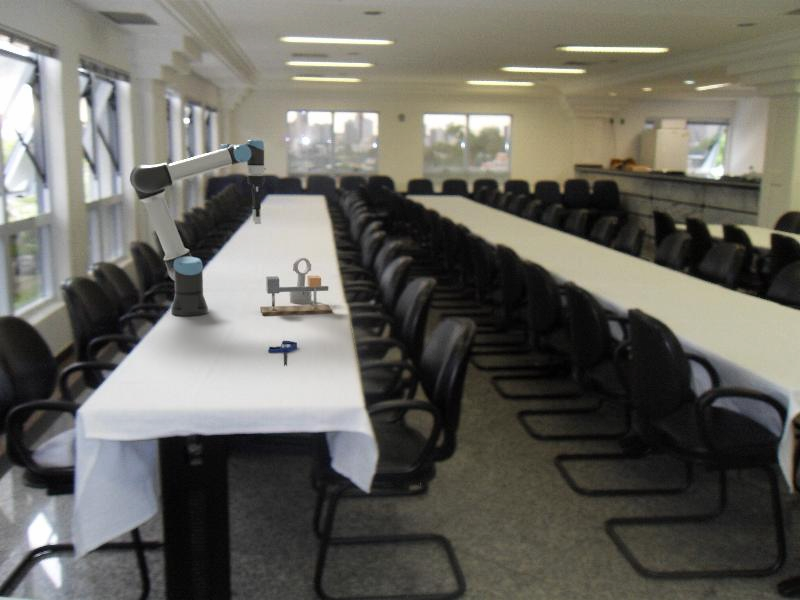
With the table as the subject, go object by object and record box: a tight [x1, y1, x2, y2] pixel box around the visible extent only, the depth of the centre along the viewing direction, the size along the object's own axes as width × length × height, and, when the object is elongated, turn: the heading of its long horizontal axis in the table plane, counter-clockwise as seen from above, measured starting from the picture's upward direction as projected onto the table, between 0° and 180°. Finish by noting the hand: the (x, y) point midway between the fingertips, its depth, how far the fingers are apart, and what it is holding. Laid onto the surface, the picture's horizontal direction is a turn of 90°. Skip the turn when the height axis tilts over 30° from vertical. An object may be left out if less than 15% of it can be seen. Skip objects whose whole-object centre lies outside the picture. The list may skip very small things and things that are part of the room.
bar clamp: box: [268, 340, 298, 367], centre depth 272 cm, size 32×2×10 cm
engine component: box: [289, 257, 312, 305], centre depth 369 cm, size 11×20×10 cm
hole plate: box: [260, 304, 333, 317], centre depth 348 cm, size 30×12×2 cm, turn 104°
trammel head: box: [307, 275, 322, 307], centre depth 348 cm, size 5×7×13 cm
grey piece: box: [265, 275, 329, 310], centre depth 346 cm, size 26×7×14 cm, turn 104°
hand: (256, 222), depth 361 cm, fingers open, 13 cm apart
